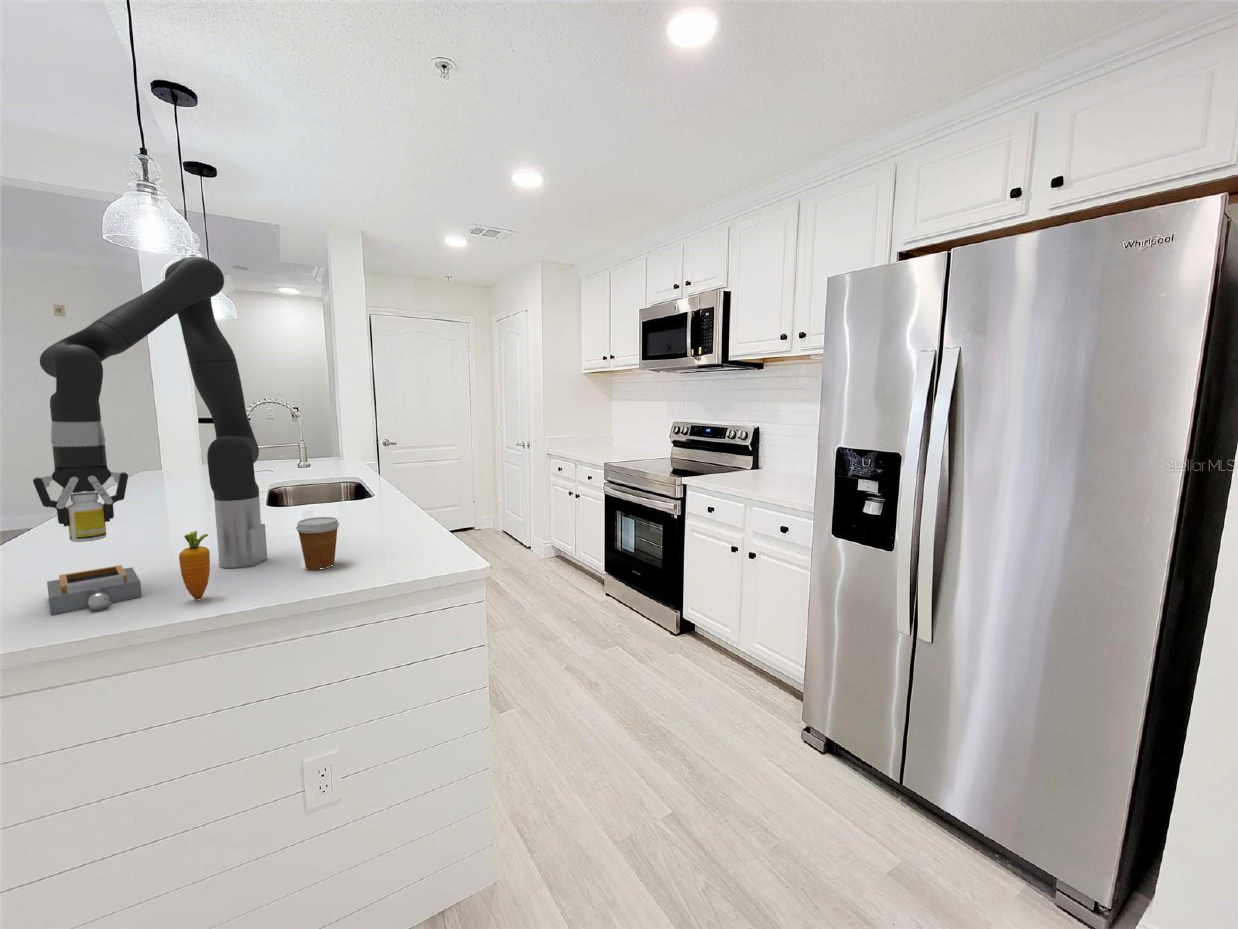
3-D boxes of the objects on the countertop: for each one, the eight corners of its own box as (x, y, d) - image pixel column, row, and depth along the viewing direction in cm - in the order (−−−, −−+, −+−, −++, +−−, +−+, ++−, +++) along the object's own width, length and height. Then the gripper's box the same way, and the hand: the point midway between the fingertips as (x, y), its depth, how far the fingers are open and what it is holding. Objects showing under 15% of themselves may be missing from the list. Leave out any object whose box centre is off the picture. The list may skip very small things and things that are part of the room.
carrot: (194, 595, 110) (188, 527, 108) (218, 595, 110) (213, 527, 108) (176, 604, 105) (170, 533, 103) (202, 604, 105) (196, 533, 103)
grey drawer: (133, 582, 117) (131, 561, 116) (144, 602, 106) (142, 578, 105) (48, 597, 107) (46, 574, 106) (51, 621, 96) (48, 596, 95)
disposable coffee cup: (295, 574, 124) (292, 526, 122) (301, 563, 132) (298, 518, 131) (339, 570, 128) (337, 523, 126) (342, 559, 136) (340, 515, 135)
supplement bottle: (114, 536, 110) (109, 492, 109) (85, 543, 104) (80, 496, 103) (91, 535, 110) (87, 490, 109) (62, 542, 105) (57, 495, 104)
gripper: (125, 440, 113) (131, 515, 115) (26, 443, 102) (35, 525, 104) (129, 443, 108) (136, 521, 110) (25, 446, 97) (35, 532, 99)
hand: (87, 523), depth 107 cm, fingers closed on supplement bottle, 5 cm apart
